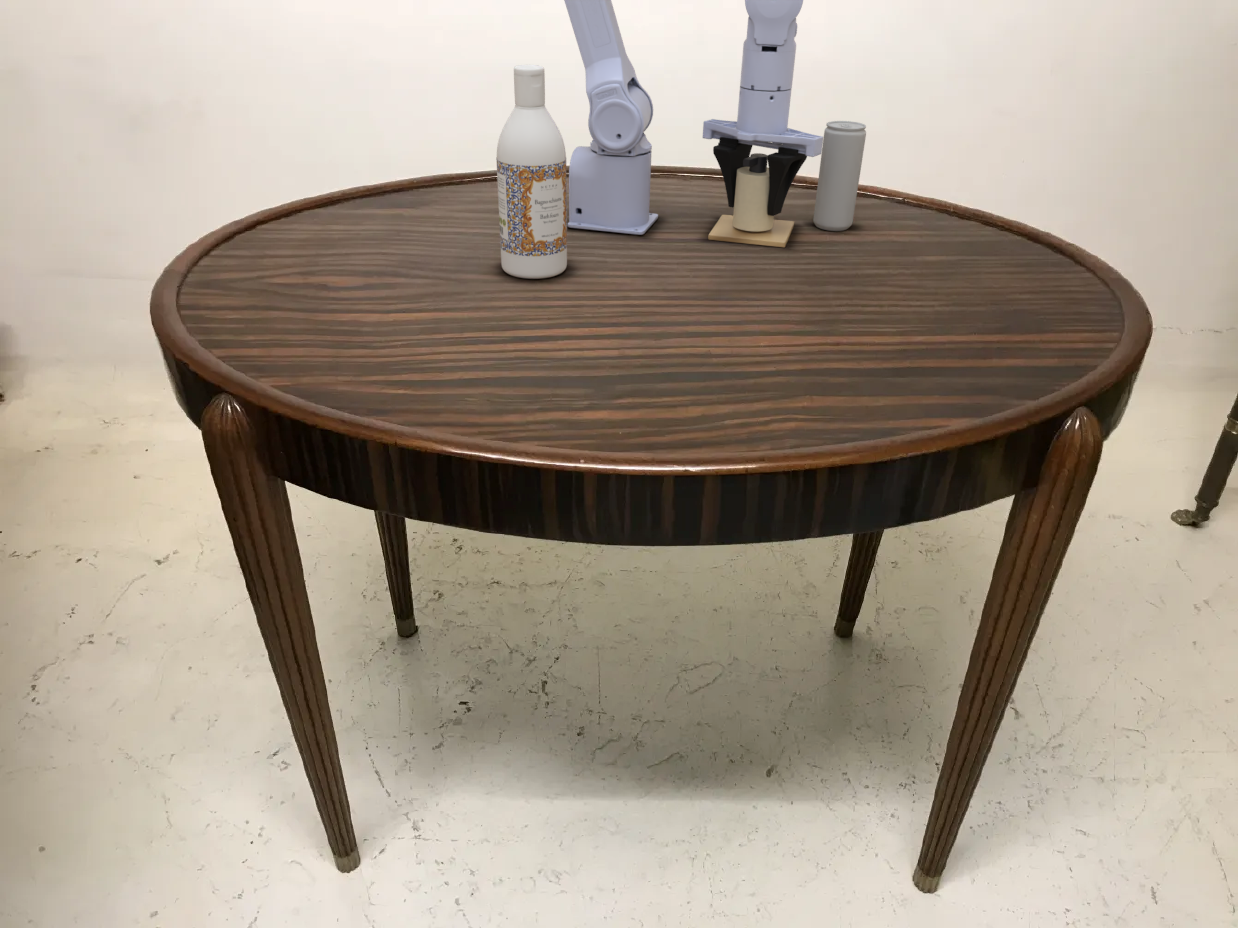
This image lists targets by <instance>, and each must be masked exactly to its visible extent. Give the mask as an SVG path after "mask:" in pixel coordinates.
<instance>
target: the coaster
mask: <svg viewBox="0 0 1238 928" xmlns="http://www.w3.org/2000/svg"><path fill="white" fill-rule="evenodd" d="M794 227H795V221H794V220H782V219H774V221H773V228H772V229H770V230H767V231H758V232H755V231H745V230H740V229H737V228H735V227H734V226H733V214H721V216H720V217H719V219H718V221H717V222H716V223H715V224H714V226H713V227H712V229H711V231H710V232H709V234H708V237H707V238H708V239H707V240H709V241H716V242H717V241H720V242H726V243H728V242H729V243H735V244H736V243H739V244H746V245H747V244H748V245H757V246H765V247H775V248H776V247H777V248H786V246H787V243H788V241H789V239H790V236H791V235H792V232H793V229H794Z"/></svg>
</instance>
